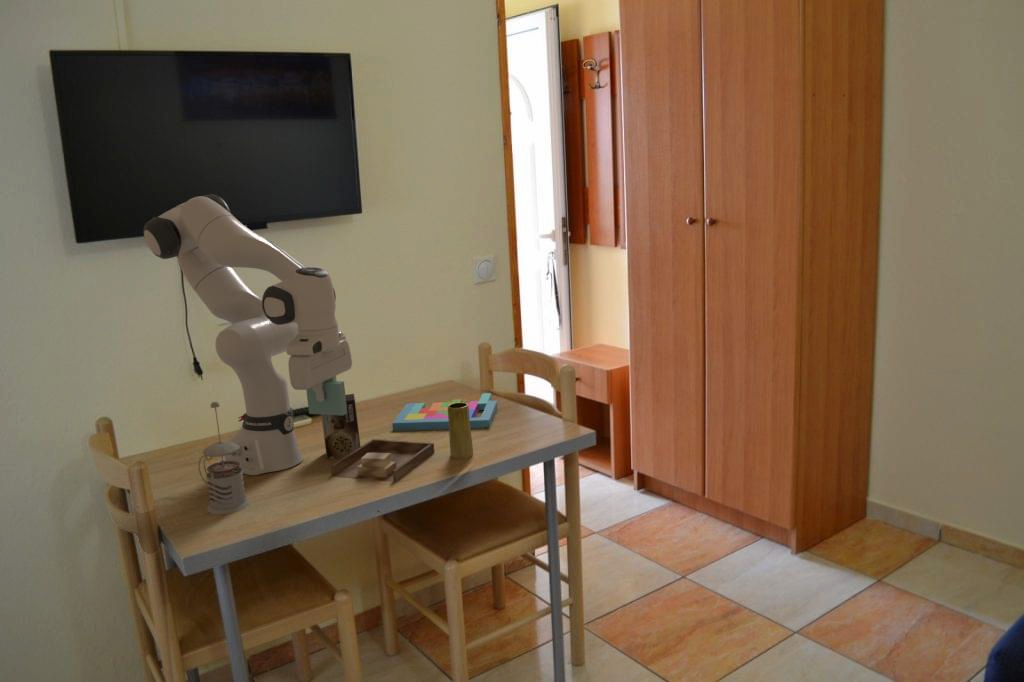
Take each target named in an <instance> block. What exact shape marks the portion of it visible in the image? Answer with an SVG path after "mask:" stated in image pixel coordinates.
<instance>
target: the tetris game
mask: <svg viewBox="0 0 1024 682" xmlns="http://www.w3.org/2000/svg"><path fill="white" fill-rule="evenodd" d="M492 399H493V398H492V393H491V392H490V393H488V392H487V393H486V392H485V393H484V392H483V393H482V394H481V396H480V397H479V400H474V401H473V400H472V401H469V402H468V403H467V404H468V407H469V419H470V428H471V429H484V428H483V427H490V428H491V426H492V423H491V422H493V421H492V419H493V420H494V418H493V417H495V416H494V414H495V415H496V413H495V411H496V409H497V410H498V408H497V407H498V400H497V399H496V400H492ZM491 400H492V401H491ZM457 402H463V398H462V399H461V398H460V399H457V398H456V399H454V398H453V399H452V401H447V402H445V401H443V402H439V401H438V402H433V403H432V404H431V406H430V407H426V402H418V403H417V402H414V403H413V402H410V403H406V404H405V406H404V407H403V408H402V410H400V412H399V413H398V415H397V416H396V417H395V419H394V420H393V421H392V423H391V424H392V425H391V426H392V431H393V432H394V431H395V432H396V431H398V432H399V430H401V431H426V430H428V431H431V430H449V419H448V405H449V404H452V403H457ZM478 410H484V411H482V413H481V416H480V417H478V416H477V415H478V413H479V411H478ZM477 412H478V413H477ZM496 412H497V411H496ZM476 414H477V415H476ZM475 416H476V417H475ZM490 425H491V426H490ZM480 427H481V428H480Z"/></svg>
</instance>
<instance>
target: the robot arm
mask: <svg viewBox="0 0 1024 682" xmlns="http://www.w3.org/2000/svg"><path fill="white" fill-rule="evenodd" d="M142 233H143V234H142V235H143V239H144V242H145V243H146V246H147V247H148V248H149V249H148V250H150V251H151V252H152V254H154V255H155V256H156V257H157V258H160V259H163V260H168V259H173V258H176V257H177V261H178V265H179V267H180V270H181V271H182V272H181V273H182V274H183V275H184V277H185V278H186V281H187V283H188V284H189V285H190V287H191V288H192V290H193V291H194V292H195V293H196V294H197V296H198V297H199V299H200V300H201V301H202V303H203V304H204V305H205V306H206V307H207V308H208V309H207V310H209V312H211V314H212V315H213V316H214V317H215V318H218V319H221V320H224V321H227V322H229V323H230V325H229V326H227V327H225V328H224V329H222V330H221V331H220V332H219V333H218V334H217V336H216V338H215V351H216V354H217V356H218V357H219V359H220V361H222V362H223V363H224V364H225V365H227V366H229V367H230V368H231V369H233V371H234V372H235V374H236V375H237V378H238V380H239V383H240V385H241V388H242V395H243V399H244V400H243V401H244V405H245V407H244V408H245V411H246V412H245V413H244V414H243V415H240V416H238V418H237V419H239V420H238V422H241V421H242V424H241V425H242V427H241V428H240V429H239V430H237V431H236V432H235V433H234V434H233V435H232V436H231V437H230V438H229V439H228V440H226V442H233V443H235V444H237V445H239V446H240V447H239V450H238V451H237V452H235V453H233V454H230V455H226V456H223V462H225V461H237V462H239V463H240V465H239V467H240V468H241V469H242V473H243V475H249V476H258V475H262V474H265V473H271V472H272V473H273V472H277V471H279V472H280V471H282V470H287V469H289V468H292V467H295V466H297V465H299V464H301V462H302V461H303V459H304V457H303V455H302V453H301V449H300V448H299V444H298V441H297V437H296V433H295V429H294V425H295V424H294V423H295V419H294V413H293V408H292V407H291V401H290V395H289V387H288V381H287V379H286V378H285V376H283V375H282V374H280V373H278V372H277V371H276V370H275V368H274V365H273V361H272V357H275V356H278V355H280V354H282V353H285V352H286V354H287V355H288V356H289V358H288V363H287V364H288V373H289V380H290V385H291V387H292V388H293V389H294V390H297V391H306V390H307V389H309V388H311V387H312V389H313V391H314V392H315V394H316V399H317V401H324V400H326V399H327V397H326V392H323V389H322V387H323V382H324V381H337V376H338V375H340V374H342V373H345V372H347V371H349V370H351V369H352V366H353V360H352V354H351V349H350V346H349V342H348V340H347V338H346V335H344V333H343V332H341V331H339V324H338V320H337V318H336V315H335V314H336V313H335V312H336V306H337V305H336V299H337V297H336V290H335V288H334V285H333V282H332V278H331V276H330V274H329V272H328V271H327V270H325V269H323V268H319V267H314V266H313V267H311V266H310V267H308V266H307V267H306V266H305V265H303V264H302V263H300V262H299V260H297V259H295V258H294V257H293V256H292V255H290V254H289V253H288V252H287V251H285V250H284V249H282V248H281V247H280V246H278V244H276V243H274V242H273V241H271V240H269V239H267V238H265V237H263V236H261V235H259V234H257V233H256V232H255V231H252V230H251V229H250V228H248V227H247V226H246V225H244V224H243V223H242V222H241V221H239V220H238V219H237V218H236V217H235V216H234V214H232V212H231V209H230V208H229V205H228V204H227V203H226V201H225V200H224V199H223V198H222V197H220V196H219V195H217V194H213V193H211V194H206V195H201V196H195V197H193V198H190V199H188V200H187V201H185V202H183V203H181V204H178V205H176V206H175V207H173V208H171V209H170V210H167V211H165V212H164V213H162V214H160V215H159V216H154V217H153V218H151V219H150V220H149V221H147V222H146V223H145V224H144V227H143V230H142ZM234 268H247V269H248V268H249V269H256V270H261V271H265V272H267V273H270V274H272V275H274V276H275V277H276V278H277V279H278V280H280V281H281V282H277V283H274V284H272V285H270V286H268V287H267V288H266V289H265V290H264V292H263V294H262V297H260V296H258V294H256V293H255V292H253V291H252V289H250V288H249V286H248V285H247V284H246V282H245V281H244V280H243V279H242V277H241V276H240V275H239V274H238V273H237V272H236V270H235V269H234ZM218 462H222V458H220V459H219V460H218V461H217V462H216V463H218ZM231 472H233V473H238V472H237V471H233V470H232V471H231Z"/></svg>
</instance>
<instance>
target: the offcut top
mask: <svg viewBox="0 0 1024 682" xmlns="http://www.w3.org/2000/svg"><path fill="white" fill-rule="evenodd" d="M361 462H362V467H386V466H387V465H388V464H389V463H390V462H391V455H390V453H367V454H365V455H364V456H363V457H362V458H361Z"/></svg>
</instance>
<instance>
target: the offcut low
mask: <svg viewBox="0 0 1024 682" xmlns="http://www.w3.org/2000/svg"><path fill="white" fill-rule="evenodd" d="M396 468H397V467H396V462H390V463H389V464H388V465H387V466H386V467H362V464H360V465H359V466H357V470H358V475H362V476H373V477H385V478H387V477H388V476H390V475H391V474H392V473H393V470H395V469H396Z"/></svg>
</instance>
